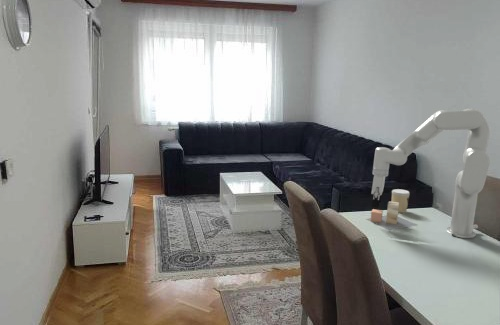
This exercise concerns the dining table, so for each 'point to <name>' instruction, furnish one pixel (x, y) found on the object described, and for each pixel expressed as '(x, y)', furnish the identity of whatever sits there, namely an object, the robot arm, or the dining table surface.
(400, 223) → the baseplate
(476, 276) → the dining table surface
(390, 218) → the oak base brick
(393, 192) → the coffee cup
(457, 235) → the robot arm
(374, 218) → the terracotta block
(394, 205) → the birch block
